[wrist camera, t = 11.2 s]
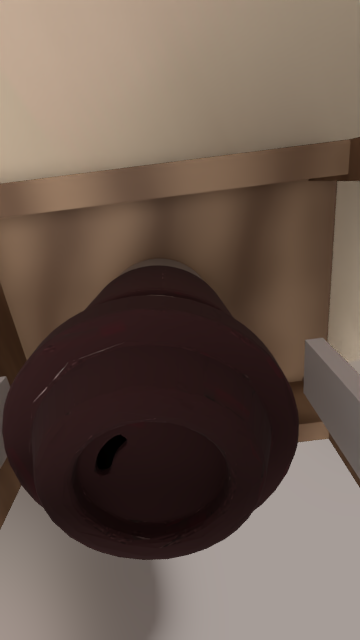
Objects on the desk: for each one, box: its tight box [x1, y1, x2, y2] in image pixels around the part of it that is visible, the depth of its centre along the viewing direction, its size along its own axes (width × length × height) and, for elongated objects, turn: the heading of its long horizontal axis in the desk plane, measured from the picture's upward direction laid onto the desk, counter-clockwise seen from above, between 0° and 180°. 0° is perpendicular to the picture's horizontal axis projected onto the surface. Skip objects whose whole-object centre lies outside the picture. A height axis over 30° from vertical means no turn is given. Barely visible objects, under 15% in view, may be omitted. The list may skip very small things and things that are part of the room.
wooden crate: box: [0, 137, 360, 529], centre depth 20 cm, size 24×18×11 cm
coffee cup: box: [2, 259, 299, 560], centre depth 17 cm, size 10×10×15 cm
